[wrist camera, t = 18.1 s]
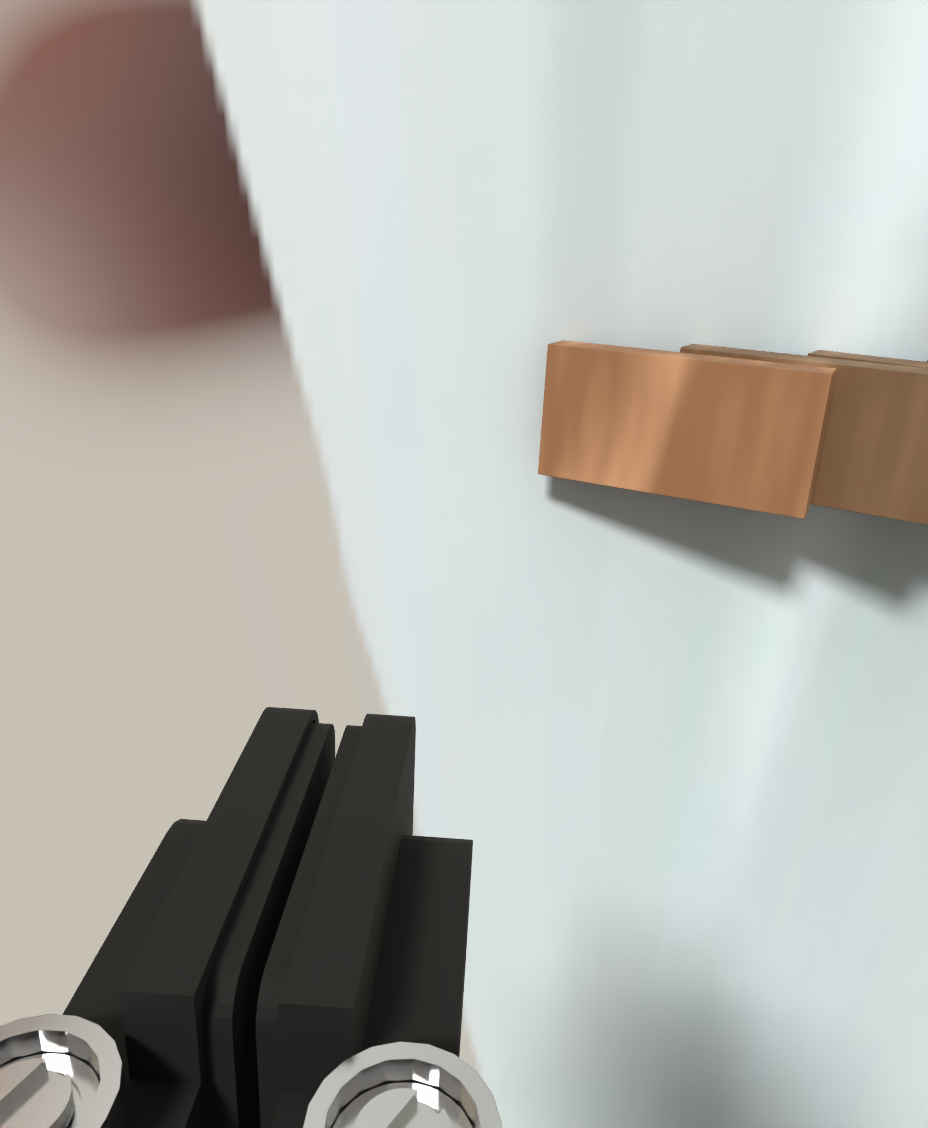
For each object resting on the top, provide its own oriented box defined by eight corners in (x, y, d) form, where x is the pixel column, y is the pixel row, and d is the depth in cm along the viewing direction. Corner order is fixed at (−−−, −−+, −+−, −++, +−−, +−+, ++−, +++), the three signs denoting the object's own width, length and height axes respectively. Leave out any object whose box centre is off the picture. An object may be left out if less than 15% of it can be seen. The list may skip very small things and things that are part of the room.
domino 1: (563, 340, 34) (836, 368, 30) (552, 465, 36) (809, 507, 32) (548, 344, 33) (832, 374, 29) (537, 473, 35) (804, 518, 31)
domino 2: (693, 343, 34) (986, 374, 30) (676, 469, 36) (950, 516, 32) (680, 347, 33) (985, 380, 28) (663, 477, 35) (947, 528, 30)
